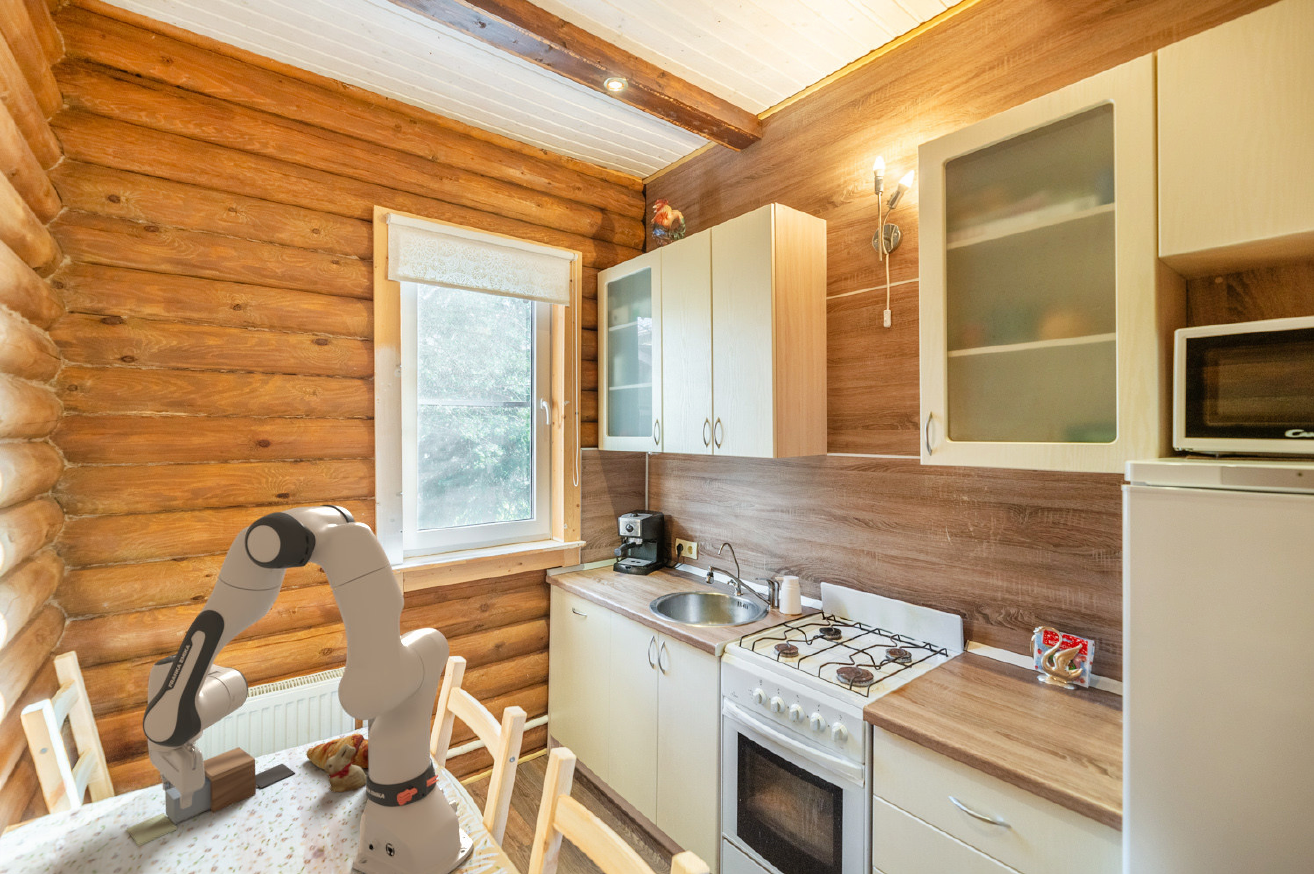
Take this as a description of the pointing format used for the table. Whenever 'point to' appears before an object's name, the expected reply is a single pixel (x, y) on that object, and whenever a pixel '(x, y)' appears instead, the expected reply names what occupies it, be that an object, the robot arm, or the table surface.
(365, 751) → the croissant
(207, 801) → the block
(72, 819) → the table surface
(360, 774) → the chocolate bunny
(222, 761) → the tunnel
